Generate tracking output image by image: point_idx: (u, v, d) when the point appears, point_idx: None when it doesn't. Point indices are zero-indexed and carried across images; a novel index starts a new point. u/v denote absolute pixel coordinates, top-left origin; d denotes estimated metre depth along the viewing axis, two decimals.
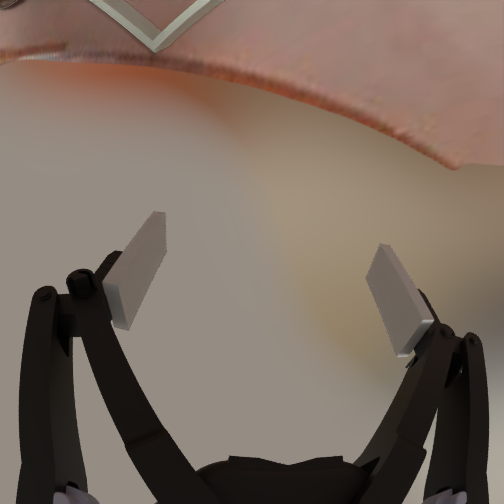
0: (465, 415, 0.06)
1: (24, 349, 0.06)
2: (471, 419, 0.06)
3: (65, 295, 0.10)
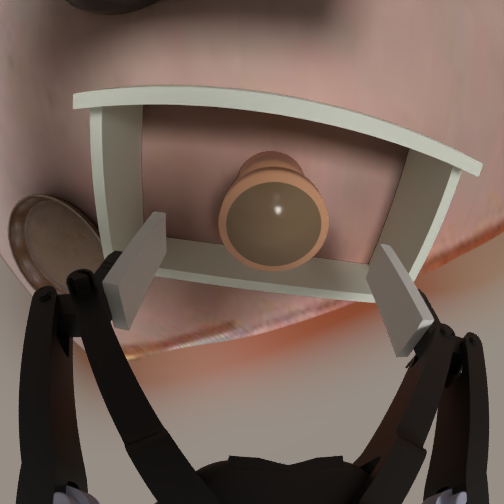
0: (465, 415, 0.06)
1: (24, 349, 0.06)
2: (471, 419, 0.06)
3: (65, 295, 0.10)
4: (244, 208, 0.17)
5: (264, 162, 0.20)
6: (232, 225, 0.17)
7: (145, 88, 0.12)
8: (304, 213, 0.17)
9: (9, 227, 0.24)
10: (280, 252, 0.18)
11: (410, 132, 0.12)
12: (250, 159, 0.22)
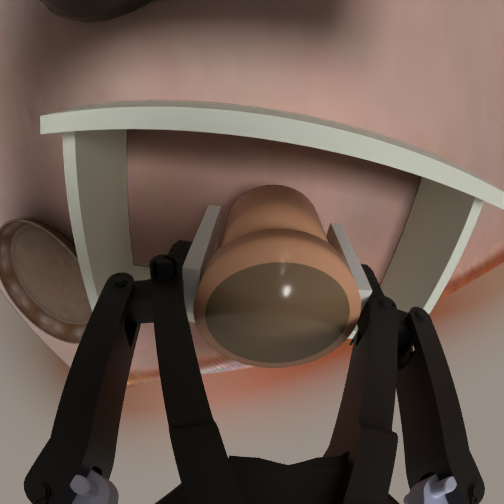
0: (430, 398, 0.07)
1: (86, 330, 0.08)
2: (438, 402, 0.07)
3: (139, 281, 0.11)
4: (232, 298, 0.11)
5: (264, 209, 0.13)
6: (214, 319, 0.11)
7: (117, 109, 0.10)
8: (325, 304, 0.11)
9: None
10: (286, 349, 0.12)
11: (437, 162, 0.10)
12: (244, 197, 0.16)
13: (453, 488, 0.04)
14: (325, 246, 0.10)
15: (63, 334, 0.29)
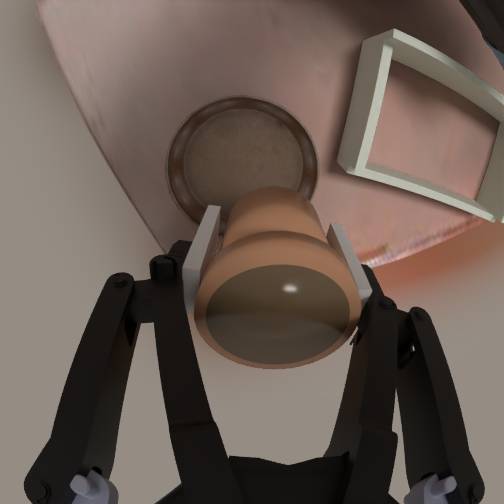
0: (429, 399, 0.07)
1: (86, 330, 0.08)
2: (438, 402, 0.07)
3: (139, 281, 0.11)
4: (232, 300, 0.11)
5: (264, 211, 0.13)
6: (215, 321, 0.11)
7: (438, 51, 0.16)
8: (326, 306, 0.11)
9: (179, 130, 0.28)
10: (286, 351, 0.12)
11: None
12: (244, 199, 0.16)
13: (453, 488, 0.04)
14: (325, 248, 0.10)
15: None
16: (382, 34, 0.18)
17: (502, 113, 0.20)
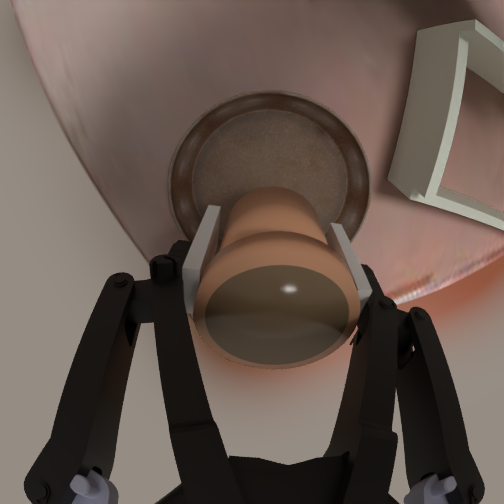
0: (430, 398, 0.07)
1: (86, 330, 0.08)
2: (438, 402, 0.07)
3: (139, 281, 0.11)
4: (231, 301, 0.11)
5: (264, 211, 0.13)
6: (214, 321, 0.11)
7: None
8: (325, 306, 0.11)
9: (185, 138, 0.20)
10: (285, 351, 0.12)
11: None
12: (244, 199, 0.16)
13: (453, 488, 0.04)
14: (325, 249, 0.10)
15: None
16: (454, 24, 0.10)
17: None
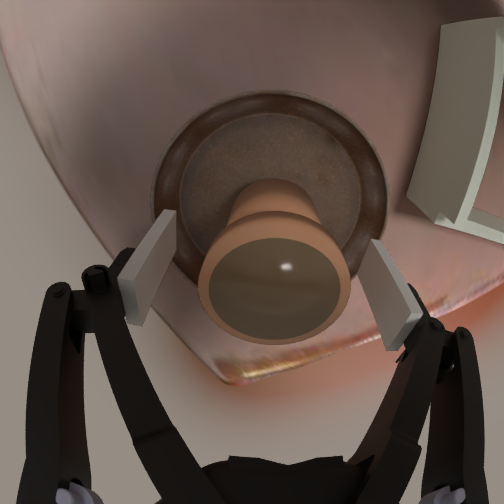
0: (459, 411, 0.07)
1: (35, 344, 0.07)
2: (465, 415, 0.06)
3: (79, 291, 0.10)
4: (233, 272, 0.12)
5: (264, 198, 0.15)
6: (217, 293, 0.13)
7: None
8: (318, 279, 0.12)
9: (169, 149, 0.17)
10: (282, 325, 0.13)
11: None
12: (247, 189, 0.17)
13: (461, 501, 0.03)
14: (316, 226, 0.12)
15: None
16: (489, 20, 0.06)
17: None
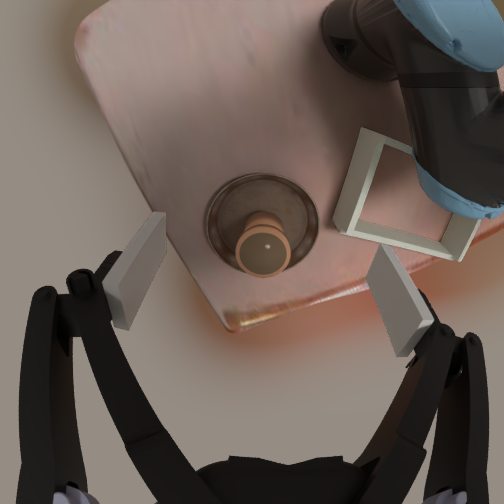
0: (465, 415, 0.06)
1: (24, 349, 0.06)
2: (471, 419, 0.06)
3: (65, 295, 0.10)
4: (251, 242, 0.35)
5: (264, 219, 0.38)
6: (243, 249, 0.35)
7: None
8: (279, 250, 0.35)
9: (219, 195, 0.40)
10: (263, 267, 0.36)
11: None
12: (255, 214, 0.41)
13: None
14: (281, 232, 0.35)
15: None
16: (377, 134, 0.31)
17: None
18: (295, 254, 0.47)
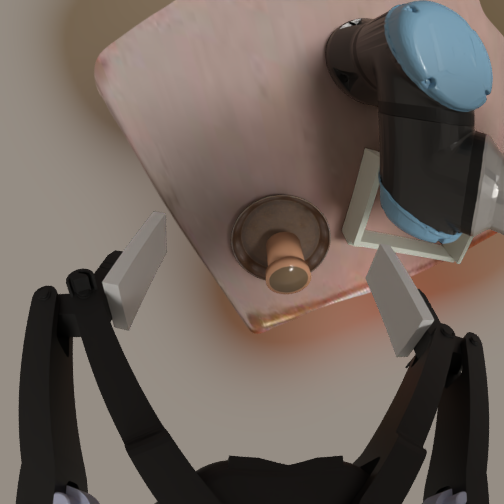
0: (465, 415, 0.06)
1: (24, 349, 0.06)
2: (471, 419, 0.06)
3: (65, 295, 0.10)
4: (283, 271, 0.41)
5: (292, 246, 0.44)
6: (275, 274, 0.41)
7: None
8: (302, 279, 0.43)
9: (241, 215, 0.46)
10: (284, 288, 0.44)
11: None
12: (283, 234, 0.46)
13: None
14: (308, 266, 0.42)
15: None
16: (378, 158, 0.36)
17: None
18: (310, 262, 0.53)
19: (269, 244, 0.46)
